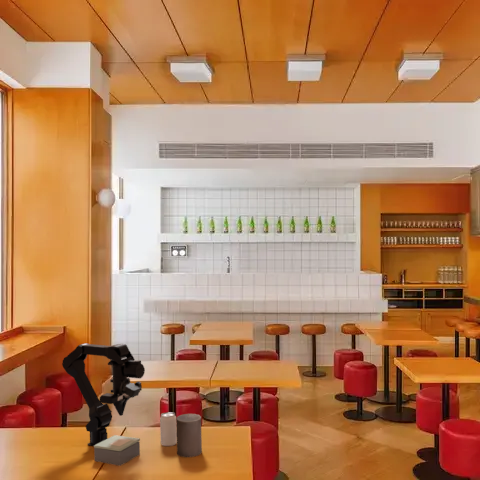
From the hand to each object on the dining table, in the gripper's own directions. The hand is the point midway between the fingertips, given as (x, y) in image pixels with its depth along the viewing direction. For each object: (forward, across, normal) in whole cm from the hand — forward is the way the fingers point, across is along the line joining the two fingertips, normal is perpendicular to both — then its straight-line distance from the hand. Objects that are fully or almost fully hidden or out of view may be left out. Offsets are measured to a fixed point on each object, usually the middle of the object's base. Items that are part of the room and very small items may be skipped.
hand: (121, 415), depth 229 cm
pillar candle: (+13, +6, -28) cm, 32 cm away
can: (+13, +11, -15) cm, 23 cm away
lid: (+8, -9, -5) cm, 13 cm away
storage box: (+13, -9, -5) cm, 17 cm away
